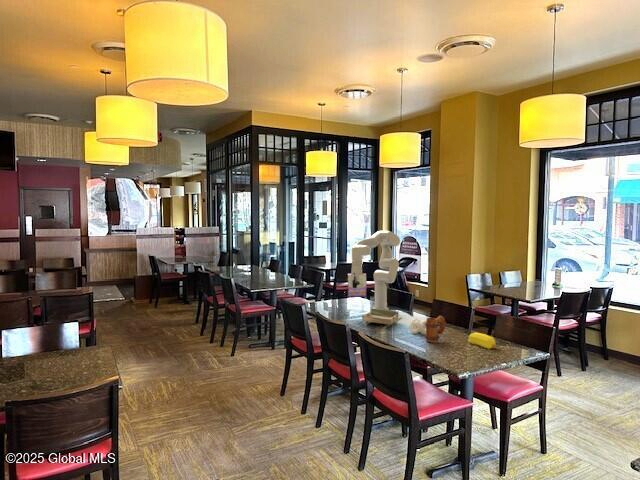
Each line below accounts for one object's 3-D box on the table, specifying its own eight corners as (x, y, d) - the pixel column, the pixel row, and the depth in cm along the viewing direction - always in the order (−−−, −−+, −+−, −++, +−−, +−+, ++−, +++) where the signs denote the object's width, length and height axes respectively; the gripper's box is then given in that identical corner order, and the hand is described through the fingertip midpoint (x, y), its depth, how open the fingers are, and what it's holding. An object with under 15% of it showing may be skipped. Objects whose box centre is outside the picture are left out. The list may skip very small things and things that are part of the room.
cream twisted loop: (406, 334, 280) (407, 320, 280) (412, 330, 291) (412, 316, 290) (424, 336, 275) (424, 322, 275) (429, 332, 286) (429, 318, 285)
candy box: (366, 295, 326) (366, 273, 325) (366, 296, 321) (366, 274, 319) (347, 294, 328) (347, 273, 327) (347, 296, 322) (347, 274, 321)
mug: (430, 344, 259) (430, 319, 258) (421, 341, 266) (421, 316, 265) (448, 341, 266) (449, 316, 265) (439, 337, 273) (440, 314, 272)
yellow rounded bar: (473, 340, 268) (464, 342, 264) (473, 329, 268) (465, 331, 264) (499, 348, 253) (490, 350, 249) (499, 337, 252) (491, 339, 248)
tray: (371, 317, 319) (371, 308, 319) (398, 321, 310) (398, 311, 309) (362, 322, 304) (362, 313, 304) (389, 326, 295) (389, 316, 294)
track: (381, 315, 331) (381, 314, 331) (401, 317, 324) (401, 316, 324) (363, 325, 301) (363, 324, 301) (385, 328, 294) (385, 327, 294)
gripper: (357, 261, 332) (357, 284, 333) (347, 264, 317) (347, 288, 318) (366, 262, 328) (366, 285, 329) (356, 264, 313) (356, 289, 314)
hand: (357, 286), depth 324 cm, fingers closed on candy box, 7 cm apart
